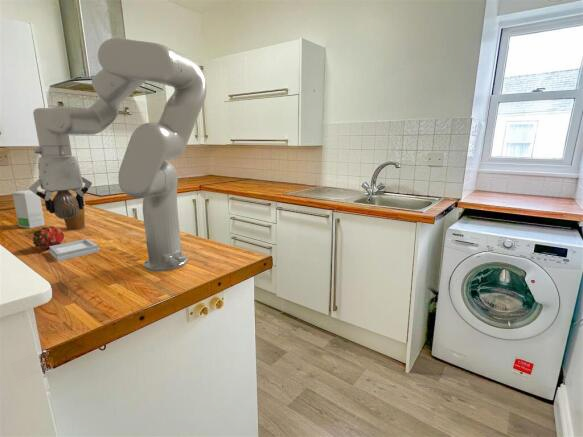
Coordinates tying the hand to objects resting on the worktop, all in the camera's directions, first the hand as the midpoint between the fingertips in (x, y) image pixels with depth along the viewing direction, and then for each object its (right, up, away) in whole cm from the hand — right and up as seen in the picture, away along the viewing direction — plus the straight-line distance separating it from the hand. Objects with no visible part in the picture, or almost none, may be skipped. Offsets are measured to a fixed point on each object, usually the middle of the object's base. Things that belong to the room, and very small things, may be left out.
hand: (66, 210), depth 99 cm
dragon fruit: (-16, -13, +15) cm, 26 cm away
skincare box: (-46, -6, +44) cm, 64 cm away
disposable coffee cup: (-23, -7, +40) cm, 47 cm away
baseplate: (-4, -14, +10) cm, 18 cm away
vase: (0, -2, +1) cm, 3 cm away
